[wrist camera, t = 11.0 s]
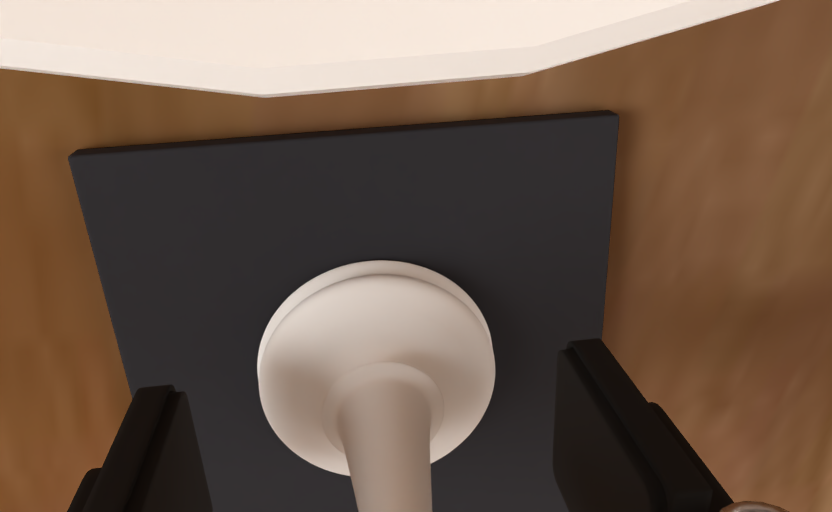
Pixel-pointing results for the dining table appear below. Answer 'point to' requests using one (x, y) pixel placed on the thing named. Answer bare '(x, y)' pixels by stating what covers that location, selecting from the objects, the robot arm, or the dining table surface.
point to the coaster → (345, 244)
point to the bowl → (328, 39)
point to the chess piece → (377, 377)
